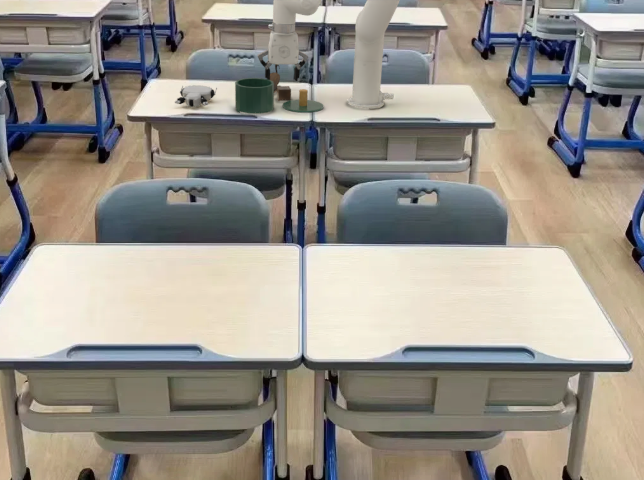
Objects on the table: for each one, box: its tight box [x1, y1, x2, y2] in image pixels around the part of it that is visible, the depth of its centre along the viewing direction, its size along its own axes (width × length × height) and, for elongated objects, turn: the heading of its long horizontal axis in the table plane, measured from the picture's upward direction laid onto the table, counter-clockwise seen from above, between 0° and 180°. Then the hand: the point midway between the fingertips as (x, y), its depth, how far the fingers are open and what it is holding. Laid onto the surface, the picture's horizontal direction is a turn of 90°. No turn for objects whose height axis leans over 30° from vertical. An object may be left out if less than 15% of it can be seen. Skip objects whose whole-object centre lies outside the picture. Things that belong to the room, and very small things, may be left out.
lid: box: [282, 88, 324, 114], centre depth 273 cm, size 14×14×6 cm
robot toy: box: [174, 84, 218, 108], centre depth 276 cm, size 12×4×15 cm
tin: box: [234, 77, 275, 115], centre depth 270 cm, size 13×13×9 cm
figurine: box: [270, 64, 281, 94], centre depth 293 cm, size 14×4×9 cm, turn 165°
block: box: [276, 85, 292, 102], centre depth 282 cm, size 4×4×4 cm
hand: (282, 80), depth 280 cm, fingers open, 9 cm apart
